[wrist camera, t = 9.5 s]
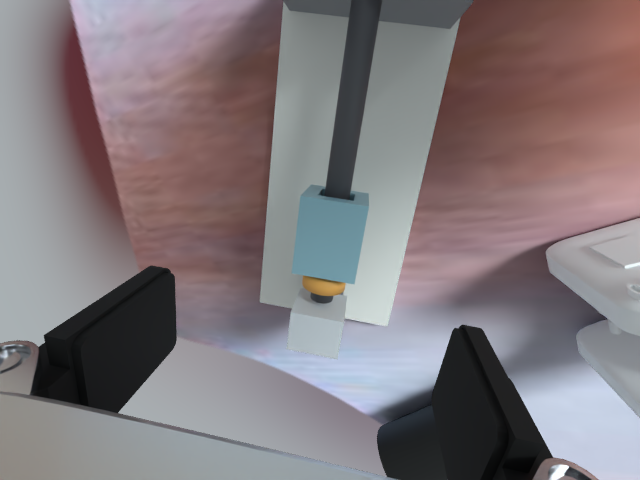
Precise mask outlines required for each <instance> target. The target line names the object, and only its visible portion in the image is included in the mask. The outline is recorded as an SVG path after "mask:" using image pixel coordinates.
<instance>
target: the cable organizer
mask: <svg viewBox="0 0 640 480" xmlns="http://www.w3.org/2000/svg"><path fill="white" fill-rule="evenodd" d="M546 258H547V262H548V267H549V271H550V273H551V274H553V275H554V276H555V277H556V278H558V279H559V280H560V281H561V282H563V283H564V284H565V285H566V286H568V287H569V288H570V289H571V290H573V291H574V292H575V293H576V294H578V295H579V296H580V297H581V298H583V299H584V300H585V301H586V302H588V303H589V304H590V305H591V306H593V307H594V308H595V309H596V310H598V311H599V312H597V313H600V314H602V315H604V316H605V317H606V318H607V320H602V321H598V322H596V323H594V324H591V325H588V326H586V327H584V328H582V329H581V330H580V331H579V332H578V333H577V335H576V341H577V345H578V350H579V353H580V355H581V356H582V357H583V358H584V359H585V360H586V361H587V362H588V363H589V364H590V365H591V366H592V368H593V369H594V370H595V371H596V372H597V373H598V374H599V375H600V376H601V377H602V378H603V379H604V380H605V381H606V383H607V384H608V385H609V386H610V387H611V388H612V389H613V390H614V391H615V392H616V393H617V394H618V395H619V396H620V397H621V399H622V400H623V401H624V402H625V403H626V404H627V405H628V406H629V407H630V408H631V409H632V410H633V411H634V412H635V414H636V415H637V416H638V417H639V418H640V218H637V219H634V220H630V221H627V222H623V223H620V224H616V225H613V226H609V227H606V228H602V229H599V230H595V231H592V232H588V233H585V234H581V235H578V236H574V237H571V238H567V239H564V240H562V241H559V242H557V243H555V244H553V245H552V246H550V247H549V248H548V249H547V250H546Z"/></svg>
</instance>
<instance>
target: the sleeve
mask: <svg viewBox="0 0 640 480" xmlns="http://www.w3.org/2000/svg"><path fill="white" fill-rule="evenodd" d="M324 195H325V186H318V185H312V184H311V185H310V186H309V187H308V188H307V189H306V190H305V191H304V192H303V194H302V195H301V196H300V204H299V212H298V221H297V230H296V239H295V248H294V257H293V265H292V273H293V274H299V275H304V276H310V277H315V278H321V279H327V280H332V281H338V282H343V283H349V284H355V279H356V274H357V268H358V263H359V258H360V252H361V247H362V242H363V236H364V231H365V226H366V220H367V215H368V210H369V193H363V192H357V191H351V192H350V199H349V200H345V199H339V198H332V197H326V196H324Z"/></svg>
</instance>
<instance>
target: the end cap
mask: <svg viewBox="0 0 640 480" xmlns="http://www.w3.org/2000/svg"><path fill="white" fill-rule="evenodd" d="M377 444H378V450H379V455H380V459H381V462H382V465H383V468H384V471H385V473H386V475H387V477H389V478H393V479H398V480H448V479H447V474H446V470H445V465H444V460H443V455H442V451H441V446H440V441H439V437H438V432H437V427H436V422H435V418H434V413H433V408H432V405H430V406H428V407H425V408H423V409H420V410H418V411H416V412H413V413H411V414H409V415H406V416H404V417H401V418H399V419H397V420H394V421H392V422H390V423H387V424H385V425H383V426H381V427H380V429H379V430H378V435H377Z"/></svg>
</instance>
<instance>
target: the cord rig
mask: <svg viewBox="0 0 640 480" xmlns="http://www.w3.org/2000/svg"><path fill="white" fill-rule="evenodd" d="M472 3H473V0H283V13H282V26H281V39H280V51H279V64H278V76H277V89H276V101H275V114H274V127H273V139H272V152H271V164H270V177H269V190H268V202H267V215H266V227H265V240H264V253H263V265H262V278H261V290H260V303H265V304H270V305H276V306H281V307H286V308H292V310H291V314H290V322H289V331H288V339H287V348H286V349H288V350H293V351H298V352H303V353H308V354H313V355H318V356H323V357H328V358H333V359H337V358H338V353H339V347H340V342H341V337H342V331H343V326H344V319H350V320H355V321H361V322H366V323H371V324H376V325H382V326H388V322H389V318H390V314H391V309H392V305H393V301H394V297H395V293H396V288H397V284H398V280H399V276H400V271H401V267H402V263H403V259H404V255H405V250H406V246H407V242H408V238H409V233H410V229H411V225H412V221H413V217H414V212H415V208H416V204H417V200H418V195H419V191H420V187H421V183H422V179H423V174H424V170H425V166H426V162H427V157H428V153H429V149H430V145H431V141H432V136H433V132H434V128H435V124H436V119H437V115H438V111H439V107H440V103H441V98H442V94H443V90H444V86H445V82H446V77H447V73H448V69H449V65H450V60H451V56H452V52H453V48H454V44H455V39H456V35H457V31H458V27H459V22H460V18H461V16H462V15H463V14H464V12H465V11H466V10H467V9H468V8H469V7H470V5H471V4H472ZM311 184H312V185H318V186H325V195H324V196H326V197H332V198H339V199H345V200H349V199H350V192H351V191H357V192H363V193H369V210H368V215H367V220H366V226H365V231H364V236H363V242H362V247H361V252H360V258H359V263H358V268H357V274H356V279H355V284H349V283H343V282H338V281H332V280H327V279H321V278H315V277H310V276H304V275H299V274H293V273H292V265H293V257H294V248H295V239H296V230H297V221H298V212H299V204H300V196H301V195H302V194H303V192H304V191H305V190H306V189H307V188H308V187H309V186H310V185H311Z"/></svg>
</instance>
